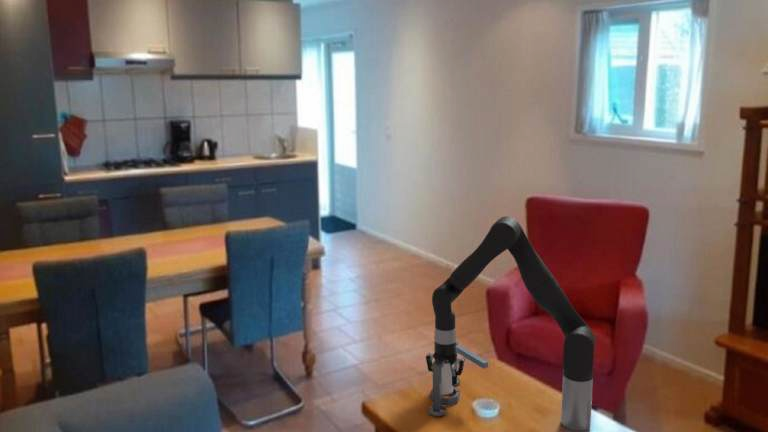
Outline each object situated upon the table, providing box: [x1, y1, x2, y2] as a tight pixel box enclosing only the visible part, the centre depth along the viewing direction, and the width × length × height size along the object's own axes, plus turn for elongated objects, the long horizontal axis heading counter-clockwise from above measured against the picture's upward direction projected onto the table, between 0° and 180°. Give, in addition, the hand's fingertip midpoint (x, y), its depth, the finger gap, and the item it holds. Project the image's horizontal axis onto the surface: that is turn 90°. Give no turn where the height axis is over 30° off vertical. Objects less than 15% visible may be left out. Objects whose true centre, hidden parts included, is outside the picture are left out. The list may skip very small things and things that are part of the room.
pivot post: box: [454, 352, 461, 387], centre depth 233 cm, size 5×5×14 cm
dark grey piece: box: [427, 358, 447, 418], centre depth 213 cm, size 6×8×18 cm
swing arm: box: [456, 341, 489, 370], centre depth 224 cm, size 21×4×2 cm, turn 30°
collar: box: [429, 386, 461, 407], centre depth 223 cm, size 10×10×2 cm
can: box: [441, 362, 453, 396], centre depth 221 cm, size 6×6×12 cm
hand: (445, 383), depth 222 cm, fingers closed on can, 5 cm apart
